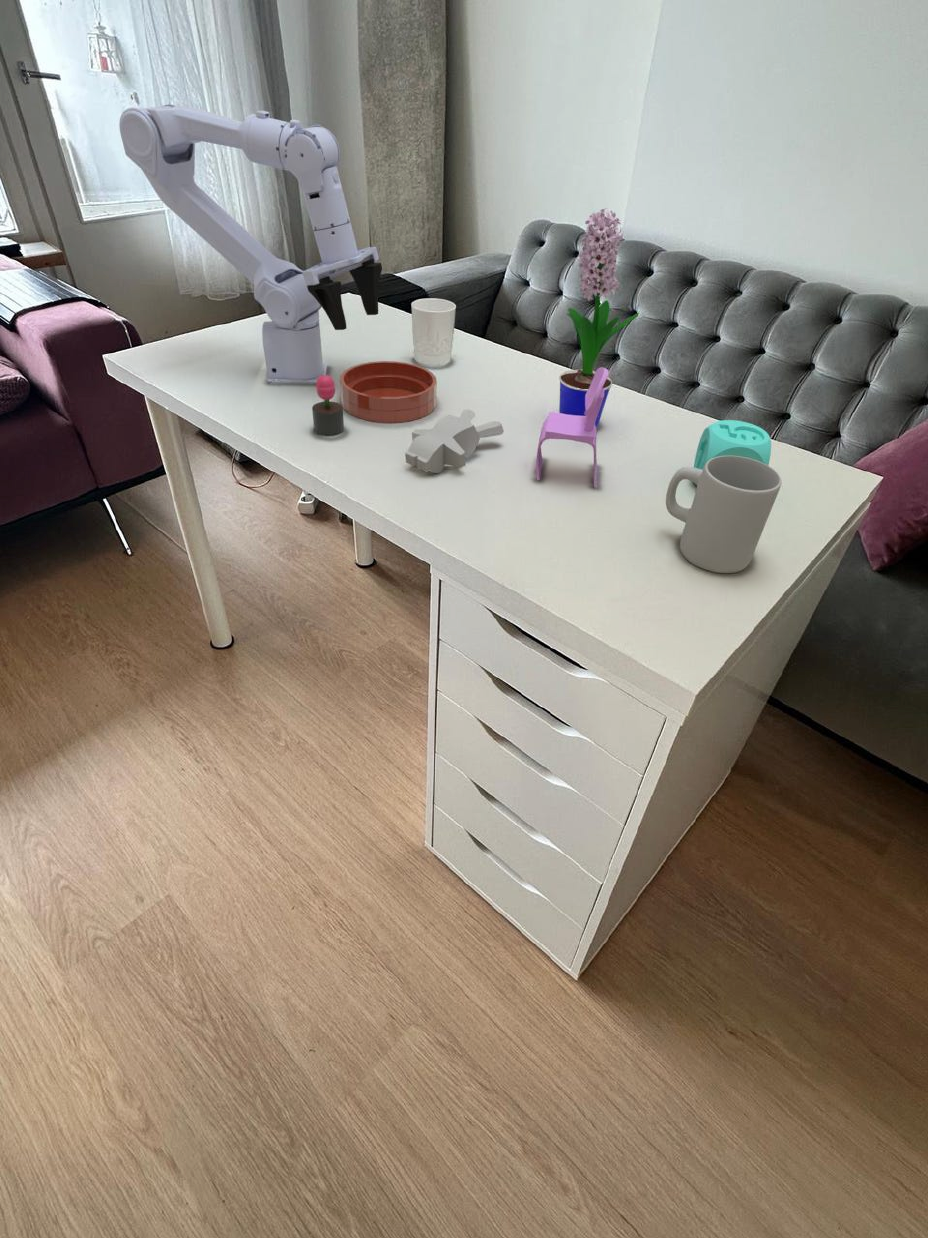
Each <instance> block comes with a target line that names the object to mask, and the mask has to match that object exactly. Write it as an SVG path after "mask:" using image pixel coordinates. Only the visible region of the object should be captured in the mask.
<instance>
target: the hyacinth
mask: <svg viewBox="0 0 928 1238" xmlns="http://www.w3.org/2000/svg"><path fill="white" fill-rule="evenodd" d="M605 210H606V211H605ZM605 214H606V215H605ZM616 216H617V215H616V212H614V211H613V210H609V211H608V208H607V207H605V208H602V209H600V210H599V211H598V212H595V211H594V212H592V213H591V214H590V215H589V217H588V218H587V220H585V223H584V224H586V225H587V227H586V228H585V230H584V233H585V235H584V238H582V239H581V241H580V243H582V244H581V246H582V248H579V250H578V251H579V253H578V257H579V260H578V267H579V268H580V269H579V271H580V272H579V275H580V279H581V280H580V284H579V285H578V288H580V291H581V293H582V298H583V299H587V301H588V302H590V301H593V300H594V310H593V320H592V321H591V320H590V319H589V318H588V317H586V316H582V315H581V313H579V311H577V310H576V309H574V308H572V307H568V308H567V313H566V315H567V316H568V317H570V318H571V320H572V323H573V325H574V328H575V332H576V336H577V340H578V344H579V347H580V353H581V358H582V369H571V370H565V371H564V372H562V373H561V374H560V375H559V401H558V402H559V403H558V405H559V407H558V409H559V412H558V413H562V414H567V415H576V416H586V415H585V414H584V412H585V411H586V408H585V395H586V393H587V391H588V389H589V387H590V385H591V383H592V380H593V378H594V375H595V372H596V371H594V370H593V368H594V366H595V363H596V360H597V358H598V356H599V355H600V353H601V351H602V349H603V348H604V346H605V345H606V344H607V342H608V341H609V340H610V339H611V338H612V337H613V336H614V335H615V334H616V333H617V332H619V331H620V330H621V329H622V328H624V327H625V326H627V325H628V324H630V323H631V322H632V321H633V320H635V319H636V318H637V317H638V316H639V315H640V313H639V312H636V313H635V314H633V315H631V316H630V317H628V318H627V319H625V320H622V322H620V323H618V321H619V319H620V316H616V317H614V318H613V319H611V320H610V321H609V317H610V303H609V301H608V300H606V299H605V300H604V301H602V303H601V297H602V296H603V297H604V298H607V297H608V295H612V296H614V295H615V292H619V291H620V288H619V287H620V286H621V282H619V281H620V280H621V278H620V277H617V273H616V272H617V263H616V262H615V261H616V260H617V258H618V254H619V249H620V247H621V246H622V240H623V238H624V237H623V236H624V235H623V234H622V227H619V226H618V225H622V224H621V222H620V220H621V219H620V218H619V217H616ZM618 227H619V228H620V229H619V228H618ZM581 249H582V250H581ZM584 273H585V274H584ZM593 295H594V296H595V299H594V298H593V297H592V296H593ZM600 303H601V304H600ZM617 323H618V324H617ZM612 386H613V381H612V379H611V378H610V377H609V376H608V377H607V379H606V381H605V383H604V385H603V388H602V389H604V398H603V401H602V404H601V407H600V410H599V413H598V416H597V419H596V422H595V426H596V430H598V427H599V424H600V421H601V418H602V414H603V411H604V409H605V405H606V401H607V400H608V396H609V393H610V389H611V388H612Z"/></svg>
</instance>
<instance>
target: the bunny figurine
mask: <svg viewBox="0 0 928 1238" xmlns="http://www.w3.org/2000/svg"><path fill="white" fill-rule="evenodd" d="M475 417H476V412H475V411H474V410H472V409H463V411H462V412H461V413H460V416H455V415H451V414H447V415H445V416H442V417H441V418H439V419H438V420H437V421H436V422H435V424H434V425H433V427H432V428H419V429H417V428H416V429H415V428H414V430H413V431H411V439H412V441H411V443H410V445H409V448H408V450H407V451H406V452H404V454H405V463H406V464H409V465H411V466H413V467H417V469H419V470H420V471H423V472H425V473H427V472H429V471H430V472H431V473H433V474H440V473H441V472H442V471H443V470H444V468H445V466H452V467H456V468H457V467H458V468H463V467H466V457H470V456H471V455H473V454H474V453H475V451H476V449H477V446H478V443H479V441H480V439H484V438H490V437H497V436H501V435H503V434H504V431H505V430H504V428H503V425H502V423H501V421H495V420H493V421H488V422H486V423H483V424H479V425H477V426H474V424H473V423H472V421H473V420H474V418H475Z"/></svg>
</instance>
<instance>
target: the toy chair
mask: <svg viewBox="0 0 928 1238" xmlns="http://www.w3.org/2000/svg"><path fill="white" fill-rule="evenodd" d="M609 375H610V371H609V369H607V368H606V367H603V366H601V367H598V368H597V369H596V371H595V375H594V378H593V380H592V383H591V385H590V387H589V389H588V391H587V393H586V395H585V408H586V411H585V412H584V414H585V415H586V416H576V415H567V414H562V413H559V412H556V411H548V413H547V415H548V416H547V418H546V419H545V420H544V421H543V424H542V426H541V430H540V434H539V438H538V439H539V440H538V445H537V450H536V463H535V464H536V465H535V466H536V468H535V469H536V481H537V482H540V480H541V475H542V467H543V461H544V460H543V454H542V453H543V452H542V445H543V443H544V442H545V441H546V440H565V441H566V440H567V441H575V442H579V443H583V444H588V445H590V446H591V447H592V449H593V488H594V489H597V488H598V483H597V482H598V460H597V429H596V426H595V422H596V419H597V416H598V413H599V410H600V407H601V404H602V401H603V398H604V389H602V388H603V385H604V383H605V381H606V379H607V377H609Z"/></svg>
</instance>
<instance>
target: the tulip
mask: <svg viewBox="0 0 928 1238" xmlns="http://www.w3.org/2000/svg"><path fill="white" fill-rule="evenodd" d="M315 385H316V386H315V387H316V388H315V389H316V393H317V394H316V395H318V397H319V398H320V399H322V400H323V401H320V402H317V403H315V404H313V405H312V407H311V410H312V420H313V430H314V432H315V434H317V435H319V436H323V437H335V436H339V435H341V434H342V433H344V431H345V423H344V408H343V406H342V404H341V403H339V402H337V401H336V402H335V401H331V400H332V399H333V398H334V396H335V394H336V384H335V381H334V378H333V377H332V376H330V375H329V374H326V375H321V376H320V377H319V378H318V379H317V381H316V382H315Z"/></svg>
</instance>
